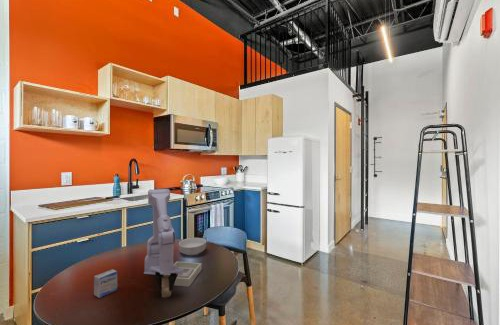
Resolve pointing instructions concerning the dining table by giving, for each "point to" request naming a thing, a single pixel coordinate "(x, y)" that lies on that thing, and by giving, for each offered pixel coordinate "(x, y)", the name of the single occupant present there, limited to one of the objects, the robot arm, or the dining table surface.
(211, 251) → the dining table surface
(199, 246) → the cereal bowl
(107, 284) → the medicine box
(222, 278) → the dining table surface
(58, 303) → the dining table surface
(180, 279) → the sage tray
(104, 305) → the dining table surface
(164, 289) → the birch peg
